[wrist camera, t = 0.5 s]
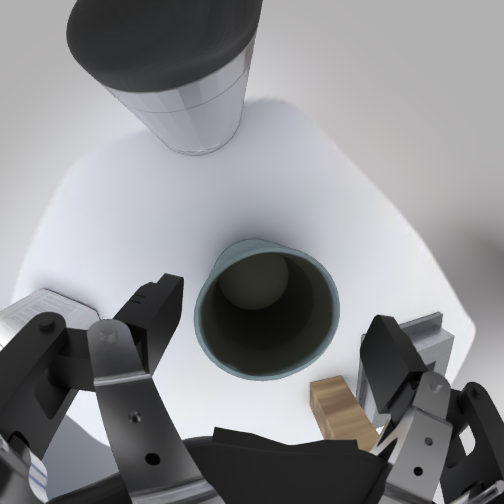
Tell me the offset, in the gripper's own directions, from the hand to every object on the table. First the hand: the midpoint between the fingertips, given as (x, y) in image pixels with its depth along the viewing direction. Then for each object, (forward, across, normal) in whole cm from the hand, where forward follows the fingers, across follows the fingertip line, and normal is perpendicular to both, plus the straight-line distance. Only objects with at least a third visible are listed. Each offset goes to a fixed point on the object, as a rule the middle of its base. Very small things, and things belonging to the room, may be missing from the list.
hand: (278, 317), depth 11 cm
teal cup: (+18, +1, +7) cm, 19 cm away
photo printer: (+13, +23, +15) cm, 31 cm away
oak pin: (+16, -12, +22) cm, 30 cm away
